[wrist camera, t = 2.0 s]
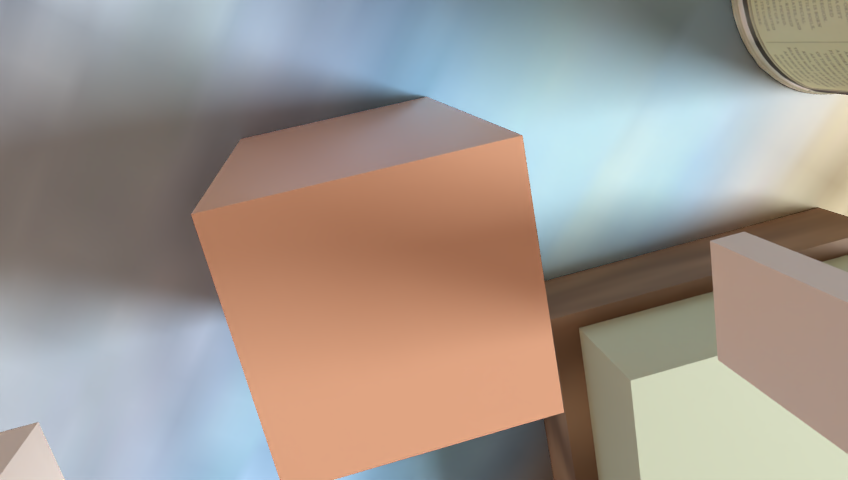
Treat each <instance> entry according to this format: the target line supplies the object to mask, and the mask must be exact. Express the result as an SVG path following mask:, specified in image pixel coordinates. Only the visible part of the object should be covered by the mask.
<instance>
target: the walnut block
mask: <svg viewBox="0 0 848 480" xmlns="http://www.w3.org/2000/svg"><path fill="white" fill-rule="evenodd" d="M741 232H747V233H749V234H752V235H754V236H757V237H759V238H762V239H764V240H767V241H770V242H772V243H775V244H777V245H780V246H782V247H785V248H787V249H790V250H792V251H795V252H798V253H800V254H803V255H805V256H808V257H810V258H813V259H815V260H818V261H820V262H823V261H827V260H830V259H834V258H838V257H841V256H845V255H848V217H847V216H844V215H841V214H838V213H834V212H831V211H828V210H825V209H821V208H814V209H810V210H807V211H803V212H799V213H795V214H792V215H788V216H784V217H781V218H777V219H773V220H769V221H766V222H762V223H758V224H755V225H751V226H747V227H743V228H740V229H736V230H732V231H729V232H725V233H721V234H717V235H714V236H710V237H706V238H703V239H699V240H695V241H691V242H688V243H684V244H680V245H677V246H673V247H669V248H665V249H662V250H658V251H654V252H651V253H647V254H643V255H639V256H636V257H632V258H628V259H625V260H621V261H617V262H613V263H610V264H606V265H602V266H599V267H595V268H591V269H587V270H584V271H580V272H576V273H573V274H569V275H565V276H561V277H558V278H554V279H550V280H546V281H544V282H545V289H546V295H547V302H548V309H549V315H550V322H551V328H552V335H553V342H554V348H555V355H556V362H557V368H558V375H559V381H560V388H561V395H562V401H563V408H564V413H560V414H557V415H553V416H550V417H547V418H544V424H545V430H546V436H547V442H548V448H549V454H550V460H551V466H552V472H553V478H554V480H599V478H598V471H597V463H596V455H595V448H594V440H593V432H592V425H591V417H590V409H589V402H588V394H587V386H586V379H585V371H584V363H583V356H582V348H581V340H580V333H579V328H581V327H584V326H588V325H592V324H595V323H599V322H603V321H606V320H610V319H614V318H617V317H621V316H625V315H628V314H632V313H636V312H639V311H643V310H647V309H650V308H654V307H658V306H661V305H665V304H669V303H672V302H676V301H680V300H683V299H687V298H691V297H694V296H698V295H702V294H706V293H709V292H713V280H712V265H711V250H710V241H711V240H715V239H718V238H722V237H726V236H729V235H733V234H737V233H741Z"/></svg>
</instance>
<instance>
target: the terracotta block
mask: <svg viewBox="0 0 848 480" xmlns="http://www.w3.org/2000/svg"><path fill="white" fill-rule="evenodd" d="M191 216H192V219H193V222H194V225H195V228H196V231H197V234H198V237H199V240H200V243H201V246H202V249H203V252H204V255H205V258H206V261H207V264H208V267H209V270H210V273H211V276H212V279H213V282H214V285H215V288H216V291H217V294H218V297H219V300H220V302H221V305H222V308H223V311H224V314H225V317H226V320H227V323H228V326H229V329H230V332H231V335H232V338H233V341H234V344H235V347H236V350H237V353H238V356H239V359H240V362H241V365H242V368H243V371H244V374H245V377H246V380H247V383H248V386H249V389H250V392H251V395H252V398H253V401H254V404H255V407H256V410H257V413H258V416H259V419H260V422H261V425H262V428H263V431H264V434H265V437H266V440H267V443H268V446H269V449H270V452H271V455H272V458H273V461H274V464H275V467H276V470H277V472H278V475H279V478H280V480H334V479H337V478H341V477H344V476H348V475H351V474H355V473H358V472H361V471H365V470H368V469H372V468H375V467H379V466H382V465H385V464H389V463H392V462H396V461H399V460H403V459H406V458H409V457H413V456H416V455H420V454H423V453H427V452H430V451H433V450H437V449H440V448H444V447H447V446H451V445H454V444H457V443H461V442H464V441H468V440H471V439H475V438H478V437H481V436H485V435H488V434H492V433H495V432H499V431H502V430H505V429H509V428H512V427H516V426H519V425H523V424H526V423H529V422H533V421H536V420H540V419H543V418H547V417H550V416H553V415H557V414H560V413H564V408H563V401H562V395H561V388H560V381H559V375H558V368H557V362H556V355H555V348H554V342H553V335H552V328H551V322H550V315H549V309H548V302H547V295H546V289H545V282H544V275H543V269H542V262H541V255H540V249H539V242H538V236H537V229H536V222H535V216H534V209H533V202H532V196H531V189H530V183H529V176H528V169H527V163H526V156H525V149H524V143H523V136H522V135H520V134H518V133H515V132H513V131H510V130H508V129H505V128H503V127H501V126H498V125H496V124H493V123H491V122H488V121H486V120H483V119H481V118H478V117H476V116H473V115H471V114H468V113H466V112H463V111H461V110H458V109H456V108H453V107H451V106H448V105H446V104H444V103H441V102H439V101H436V100H434V99H431V98H429V97H423V98H419V99H414V100H410V101H405V102H401V103H397V104H392V105H388V106H383V107H379V108H374V109H370V110H366V111H361V112H357V113H352V114H348V115H344V116H339V117H335V118H330V119H326V120H322V121H317V122H313V123H308V124H304V125H300V126H295V127H291V128H286V129H282V130H278V131H273V132H269V133H264V134H260V135H256V136H251V137H247V138H242V139H240V141H239V142H238V144H237V145H236V147H235V148H234V150H233V151H232V153H231V154H230V156H229V157H228V159H227V160H226V162H225V163H224V165H223V166H222V168H221V169H220V171H219V172H218V174H217V175H216V177H215V179H214V180H213V182H212V183H211V185H210V186H209V188H208V189H207V191H206V192H205V194H204V195H203V197H202V198H201V200H200V201H199V203H198V204H197V206H196V207H195V209H194V210H193V212H192V213H191Z"/></svg>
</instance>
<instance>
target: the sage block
mask: <svg viewBox="0 0 848 480" xmlns="http://www.w3.org/2000/svg"><path fill="white" fill-rule="evenodd" d="M823 263H826V264H828V265H831V266H833V267H836V268H838V269H841V270H843V271H846V272H848V255H845V256H841V257H838V258H834V259H830V260H827V261H823ZM579 333H580V340H581V348H582V356H583V363H584V371H585V379H586V386H587V394H588V402H589V409H590V417H591V425H592V432H593V440H594V448H595V455H596V463H597V471H598V478H599V480H848V454H847V453H846V452H844V451H843V450H841V449H840V448H839V447H837V446H836V445H835V444H833V443H832V442H830V441H829V440H828V439H826V438H825V437H823V436H822V435H821V434H819V433H818V432H817V431H815V430H814V429H812V428H811V427H810V426H808V425H807V424H806V423H804V422H803V421H801V420H800V419H799V418H797V417H796V416H795V415H793V414H792V413H790V412H789V411H788V410H786V409H785V408H783V407H782V406H781V405H779V404H778V403H777V402H775V401H774V400H772V399H771V398H770V397H768V396H767V395H766V394H764V393H763V392H761V391H760V390H759V389H757V388H756V387H755V386H753V385H752V384H750V383H749V382H748V381H746V380H745V379H743V378H742V377H741V376H739V375H738V374H737V373H735V372H734V371H732V370H731V369H730V368H728V367H727V366H726V365H724V364H723V363H721V362H720V361H719V360H718V355H717V340H716V325H715V310H714V295H713V292H709V293H706V294H702V295H698V296H694V297H691V298H687V299H683V300H680V301H676V302H672V303H669V304H665V305H661V306H658V307H654V308H650V309H647V310H643V311H639V312H636V313H632V314H628V315H625V316H621V317H617V318H614V319H610V320H606V321H603V322H599V323H595V324H592V325H588V326H584V327H581V328H579Z"/></svg>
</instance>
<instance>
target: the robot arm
mask: <svg viewBox="0 0 848 480" xmlns="http://www.w3.org/2000/svg"><path fill="white" fill-rule="evenodd" d="M710 250H711V265H712V280H713V295H714V310H715V325H716V340H717V355H718V360H719V361H720V362H721V363H723V364H724V365H726V366H727V367H728V368H730V369H731V370H732V371H734V372H735V373H737V374H738V375H739V376H741V377H742V378H743V379H745V380H746V381H748V382H749V383H750V384H752V385H753V386H755V387H756V388H757V389H759V390H760V391H761V392H763V393H764V394H766V395H767V396H768V397H770V398H771V399H772V400H774V401H775V402H777V403H778V404H779V405H781V406H782V407H783V408H785V409H786V410H788V411H789V412H790V413H792V414H793V415H795V416H796V417H797V418H799V419H800V420H801V421H803V422H804V423H806V424H807V425H808V426H810V427H811V428H812V429H814V430H815V431H817V432H818V433H819V434H821V435H822V436H823V437H825V438H826V439H828V440H829V441H830V442H832V443H833V444H835V445H836V446H837V447H839V448H840V449H841V450H843V451H844V452H846V453H847V454H848V272H846V271H843V270H841V269H838V268H836V267H833V266H831V265H828V264H826V263H823V262H820V261H818V260H815V259H813V258H810V257H808V256H805V255H803V254H800V253H798V252H795V251H792V250H790V249H787V248H785V247H782V246H780V245H777V244H775V243H772V242H770V241H767V240H764V239H762V238H759V237H757V236H754V235H752V234H749V233H747V232H741V233H737V234H733V235H729V236H726V237H722V238H718V239H715V240H711V241H710ZM0 480H65V479H64V477H63V475H62V473H61V471H60V468H59V466H58V464H57V462H56V460H55V457H54V455H53V453H52V451H51V449H50V447H49V444H48V442H47V440H46V438H45V436H44V433H43V431H42V429H41V427H40V425H39V423H38V422H37V423H33V424H29V425H26V426H22V427H18V428H15V429H11V430H7V431H3V432H0Z"/></svg>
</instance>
